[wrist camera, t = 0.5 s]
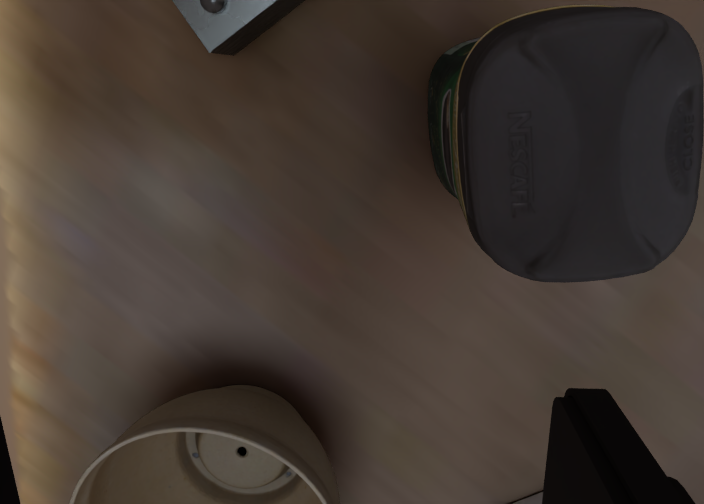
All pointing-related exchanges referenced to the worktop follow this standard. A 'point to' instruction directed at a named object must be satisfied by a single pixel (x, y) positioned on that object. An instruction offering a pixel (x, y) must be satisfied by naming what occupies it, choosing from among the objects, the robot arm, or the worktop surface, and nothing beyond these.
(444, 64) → the coffee jar
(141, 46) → the worktop surface
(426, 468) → the worktop surface
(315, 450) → the planter bowl
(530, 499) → the medicine bottle
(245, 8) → the housing
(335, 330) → the worktop surface
